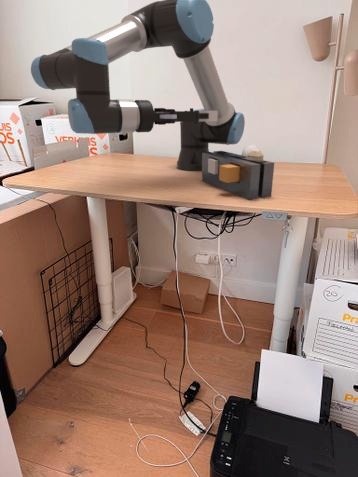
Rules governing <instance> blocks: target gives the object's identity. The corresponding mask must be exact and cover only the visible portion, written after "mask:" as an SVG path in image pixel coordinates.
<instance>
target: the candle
mask: <svg viewBox="0 0 358 477" xmlns="http://www.w3.org/2000/svg"><path fill="white" fill-rule="evenodd" d="M248 157H251V158H256V159H260V160H264V154H263V152H262V151H261V150H259V151H258V152H256V151H251V152H250V153H249V154H248Z"/></svg>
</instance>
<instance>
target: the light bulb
mask: <svg viewBox="0 0 358 477" xmlns="http://www.w3.org/2000/svg"><path fill="white" fill-rule="evenodd" d="M251 151H256V152H258V151H260V150H259V149H258V147H257V145H255V144H253V143H251V144H247V145H246V146H244V147H243V149H242V151H241V155H243V156H247V157H248V154H249V153H250V152H251Z"/></svg>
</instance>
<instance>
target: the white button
mask: <svg viewBox="0 0 358 477" xmlns="http://www.w3.org/2000/svg"><path fill="white" fill-rule="evenodd" d="M218 162H219V159H216V158H212V159H208V172H209V173H212V174H218Z"/></svg>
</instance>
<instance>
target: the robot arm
mask: <svg viewBox="0 0 358 477" xmlns="http://www.w3.org/2000/svg"><path fill="white" fill-rule="evenodd" d="M214 26H215V25H214V15H213V11H212V9H211V7H210V4H209V2H208V1H207V0H158V1H154V2H151V3H149V4H146V5H144V6H143V7H141V8H139V9H137V10H135V11H133V12H131V13H130V14H128V15H126V16H124V17H123V18H122V19H121V21H120V23H117V24H115V25H113V26H111V27H108V28H107V29H104V30H102V31H100V32H98V33H95V34H93V35H90V36H88V37H78V38H74V39H73V40H72V41H71V45H68V46H66V47H64V48H63V49H59V50H56V51H54V52H52V53H50V54H42V55H40V56H36V57H35V58H34V59H33V60H32V62H31V65H30V73H31V76H32V79H33V80H34V83H35V84H37V86H39V87H40V88H42V89H45V90H52V91H56V90H65V89H67V90H69V89H75V92H76V94H75V96H76V97H75V98H71V99H69V100H68V103H67V115H68V122H69V126H70V129H71V131H72V132H73V133H75V134H88V135H89V134H90V135H95V134H96V135H99V134H100V135H101V134H115V133H117V134H118V133H119V134H120V133H121V134H122V135H123V136H126V135H127V133H150V132H151V131H152V130H153V128H154V125H159V126H160V125H162V126H163V125H164V126H165V125H166V124H175V123H177V122H178V123H179V125H180V128H179V129H180V151H179V155H178V160H177V162H176V169H178V170H183V171H202V152H210V150H209V144H213V145H214V144H217V145H228V146H229V145H236V144H239V142H240V141H241V139H242V137H243V134H244V130H245V124H246V123H245V119H246V118H245V116H244V114H243V113H242V112H236V109H235V107H234V105H233V103H230V102H228V98H227V97H226V96H227V95H226V93H225V90H224V86H223V84H222V81H221V79H220V76H219V73H218V70H217V66H216V64H215V61H214V58H213V55H212V53H211V50H210V47H209V46H210V45H211V41H212V36H213V33H214ZM165 47H171V48H172V49H173V51H174V53H175V57H176V58H178V59H180V60H181V59H182V60H183V62H184V64H185V67H186V68H187V71H188V74H189V76H190V79H191V81H192V83H193V85H194V89H195V90H196V92H197V95H198V97H199V100H200V102H201V105H202V107H203V108H200V109H194V108H193V107H191V108H189V110H183V111H181V110H176V109H174V108H165V107H154V106H153V104H152V102H151V101H150V100H149V99H148V100H146V99H135V100H134V99H111V91H110V88H111V87H110V70H109V69H110V68H109V65H110V64H111V63H113V62H114V61H116V60H118V59H120V58H122V57H124V56H126V55H128V54H129V53H131V52H134V53H139V52H142V51H143V50H147V49H153V48H165Z"/></svg>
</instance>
